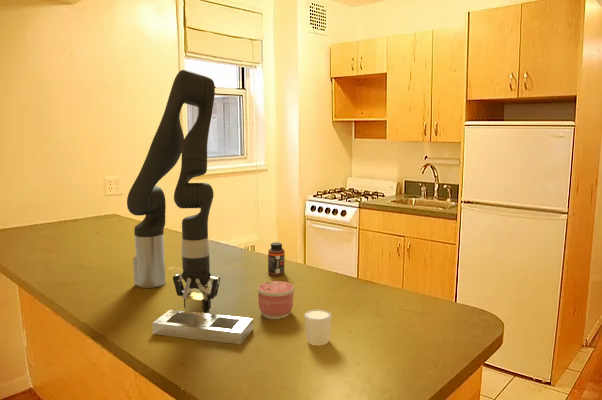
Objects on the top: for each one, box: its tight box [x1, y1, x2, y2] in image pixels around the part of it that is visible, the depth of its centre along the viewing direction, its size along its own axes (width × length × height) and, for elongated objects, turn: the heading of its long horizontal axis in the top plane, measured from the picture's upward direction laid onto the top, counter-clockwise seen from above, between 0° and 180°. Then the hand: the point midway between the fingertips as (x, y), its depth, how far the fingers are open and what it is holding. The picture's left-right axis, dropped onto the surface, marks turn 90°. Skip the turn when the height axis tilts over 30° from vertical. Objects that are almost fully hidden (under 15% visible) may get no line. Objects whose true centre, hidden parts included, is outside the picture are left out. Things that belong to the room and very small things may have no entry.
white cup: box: [303, 309, 333, 346], centre depth 115 cm, size 7×7×7 cm
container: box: [256, 280, 295, 320], centre depth 132 cm, size 10×10×8 cm
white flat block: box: [151, 309, 254, 345], centre depth 121 cm, size 24×9×3 cm, turn 77°
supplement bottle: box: [267, 242, 286, 277], centre depth 168 cm, size 6×6×11 cm
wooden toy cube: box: [184, 292, 204, 313], centre depth 133 cm, size 5×5×5 cm
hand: (197, 310), depth 133 cm, fingers closed on wooden toy cube, 5 cm apart
